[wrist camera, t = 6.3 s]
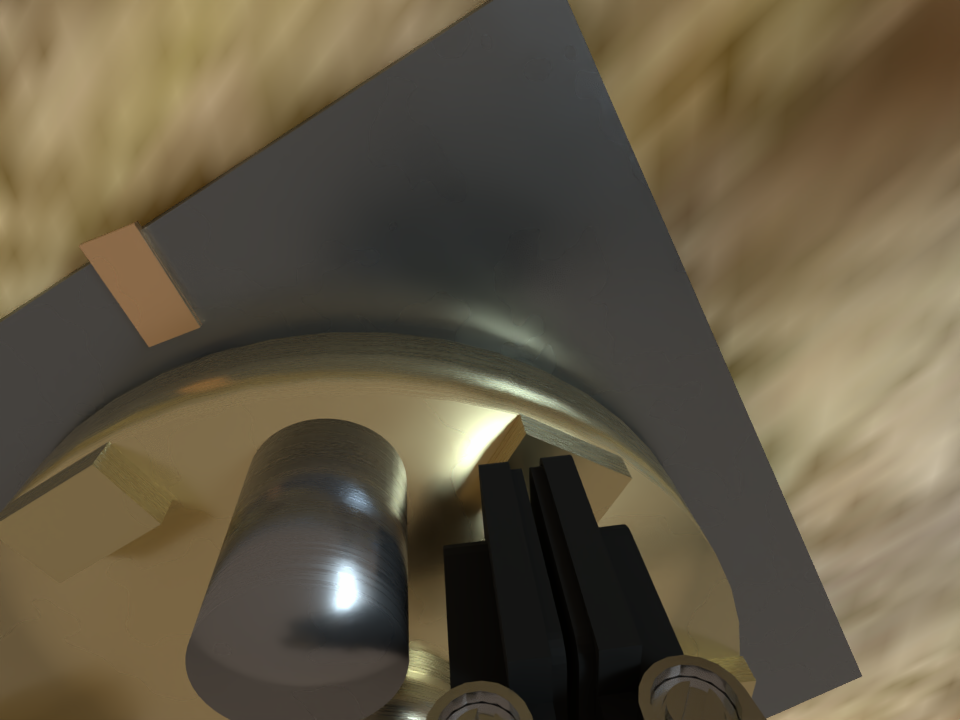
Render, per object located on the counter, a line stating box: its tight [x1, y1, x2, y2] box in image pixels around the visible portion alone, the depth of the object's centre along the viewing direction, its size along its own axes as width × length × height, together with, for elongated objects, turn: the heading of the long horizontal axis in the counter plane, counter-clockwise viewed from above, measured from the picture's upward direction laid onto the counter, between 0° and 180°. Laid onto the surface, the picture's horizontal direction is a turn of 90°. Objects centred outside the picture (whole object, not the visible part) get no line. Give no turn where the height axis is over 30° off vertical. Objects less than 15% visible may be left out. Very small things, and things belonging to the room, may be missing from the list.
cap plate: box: [0, 0, 862, 718], centre depth 19 cm, size 24×24×2 cm
